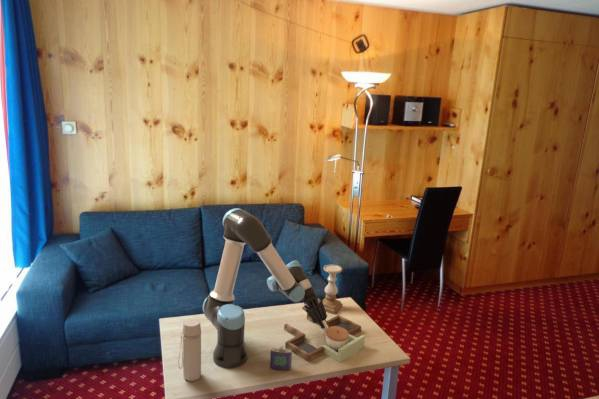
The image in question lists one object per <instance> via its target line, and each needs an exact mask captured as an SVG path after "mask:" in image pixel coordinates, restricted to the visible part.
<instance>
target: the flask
mask: <svg viewBox="0 0 599 399" xmlns="http://www.w3.org/2000/svg"><path fill="white" fill-rule="evenodd" d="M269 355H270V358H269V359H270V361H269V362H270V363H269V364H270V365H269V369H270V370H274V371H282V372H283V371H287V372H288V371H291V369H292V360H293V359H292V358H293V357H292V356H293V352H292V350H290V349H286V348H285V349H284V346H280V348H276V347H272V348H271V349H270V354H269Z"/></svg>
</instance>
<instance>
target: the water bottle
mask: <svg viewBox="0 0 599 399" xmlns="http://www.w3.org/2000/svg"><path fill="white" fill-rule="evenodd" d="M180 341H182V343H180V345H179V349H182V351H179V353H178V354H179V355H178V359H180V357H181V360H182V365H181V366H178V368H179V370H181V369H183V374H182V375H183V378H184V380H186V381H188V382H194V381H197V380H199V379H200V378H201V376H202V327H201V321H200V319H198V318H195V317H191V318H187V319H185V320H184V321H183V325H182V332H181V333H180ZM180 354H181V356H180ZM177 362H178V365H180V360H178V361H177Z"/></svg>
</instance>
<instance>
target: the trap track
mask: <svg viewBox="0 0 599 399" xmlns="http://www.w3.org/2000/svg"><path fill="white" fill-rule="evenodd" d="M306 320H307V321H309V322H311V323H313V324H315V325H317V326H319V327H320V325H319V323H318V324H317V323H314V321H313V320H312V319H311V318H310V316H309V315H308V314H307V313H306ZM326 322H327V324H328V327H331V326H339V327H342V328H344V329H346V330H347V331H348V333H349V337H348V341H347V343H346V345H344V346H343V347H341V348H339V349H338V351H336V350H332V349H331V348H330V347H329V346H328V345H325V344H323V345H321V346H319V347H315V346H314V345H312V344H310V343H309V342H307V341H305V340H306V334H305V333H304V332H303V331H300V330H299V329H297V328H295V327H293V326H292V325H290V324H288V323H285V324H283V330H284V331H285V332H287V333H288V334H290V335H292V336H293V337H292V338H291V339H288V340H287V341H285V342H284V344H285V346H284V348H285V349H286V350H288V349H290V350H292V354H294V355H296V356H297V357H299V358H301V359H303V360H304V361H305V362H307V363H310V362H311V361H313V360H315V359H316V358H319V357H320V356H322V355H323V354H325V355H326V356H328V357H330V358H332V359H333V360H335V361H337V362H338V363H341V362H344V361H345V360H346V359H348V358H350V357H351V356H353V355H354V354H355V353H357V352H359V351H361V350H362V349H364V346H365V339H366V335H364V334H361V335H360V336H358V337H356V335H358V334H359V333H361V331H362V326H361V324H360V325H359V324H358V323H356V322H353V321H351V320H349V319H348V318H346V317H343V316H341V315H340V314H337V315H335V316H334V317H331V318H330V319H327V320H326Z"/></svg>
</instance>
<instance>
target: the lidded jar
mask: <svg viewBox="0 0 599 399" xmlns="http://www.w3.org/2000/svg"><path fill="white" fill-rule="evenodd" d="M348 337H349V333H348V331H347V330H346V329H344V328H342V327H339V326H331V327H329V328H327V330H326V334H325V343H326V346H327V347H329V348H331V349H332V350H334V351H336V352H338V349H339V348H341V347H343V346H344V345H346V344H348V342H349V341H348Z"/></svg>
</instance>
